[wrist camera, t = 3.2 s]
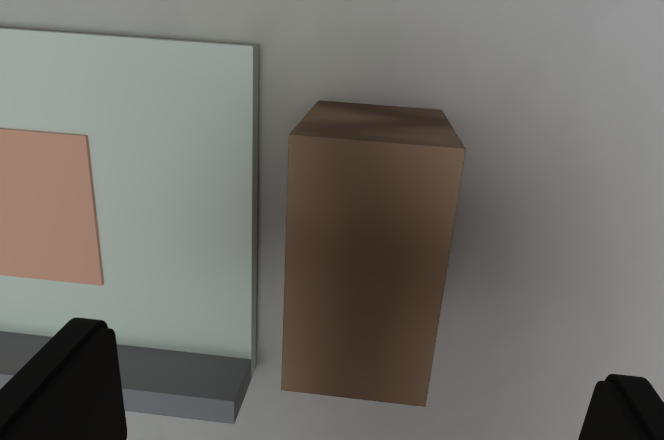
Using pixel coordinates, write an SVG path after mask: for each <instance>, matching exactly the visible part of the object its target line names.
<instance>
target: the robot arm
mask: <svg viewBox="0 0 664 440" xmlns="http://www.w3.org/2000/svg"><path fill="white" fill-rule="evenodd" d="M126 439H127V426H126V417H125V409H124V401H123V393H122V384H121V376H120V368H119V360H118V352H117V343H116V335H115V332H114V330H113V329H111V328H108V326H107V324H106V322H105V321H103V320H97V319H87V318H78V317H76V318H72V319H71V320H70V321H68V322H67V323H66V324H65V325H64V326H63V327H62V328H61V329H60V330H59V331H58V332H57V333H56V334H55V335H54V336H53V337H52V338H51V339H50V340H49V341H48V342H47V343H46V344H45V345H44V346H43V347H42V348H41V349H40V350H39V351H38V352H37V353H36V354H35V355H34V356H33V357H32V358H31V359H30V360H29V361H28V362H27V363H26V364H25V365H24V366H23V367H22V368H21V369H20V370H19V371H18V372H17V373H16V374H15V375H14V376H13V377H12V378H11V379H10V380H9V381H8V382H7V383H6V384H5V385H4V386H3V387H2V388H1V389H0V440H126ZM578 440H664V402H663V401H662V400H661V398H660V397H659V395H658V394H657V393H656V391H655V390H654V388H653V387H652V385H651V384H650V383H649V382H648V381H647V379H645V378H643V377H636V376H627V375H617V374H610V375H608V376H607V377H606V379H605V381H598V383H597V384H596V386H595V389H594V392H593V395H592V398H591V401H590V404H589V407H588V411H587V414H586V417H585V420H584V423H583V426H582V429H581V433H580V436H579V439H578Z"/></svg>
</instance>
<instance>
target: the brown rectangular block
mask: <svg viewBox="0 0 664 440" xmlns="http://www.w3.org/2000/svg"><path fill="white" fill-rule="evenodd" d="M465 150H466V149H465V147H464V145H463V144H462V142H461V141H460V139H459V137H458V136H457V134H456V133H455V131H454V129H453V128H452V126H451V124H450V123H449V121H448V120H447V118H446V116H445V115H444V113H443V112H442V110H436V109H423V108H409V107H396V106H383V105H370V104H356V103H343V102H330V101H318V102H317V103H316V104H315V105H314V107H313V108H312V109H311V110H310V111H309V112H308V113H307V115H306V116H305V117H304V118H303V119H302V120H301V121H300V123H299V124H298V125H297V126H296V127H295V128H294V129H293V131H292V132H291V133H290V134H289V150H288V183H287V216H286V250H285V283H284V316H283V349H282V383H281V390H285V391H294V392H303V393H311V394H320V395H329V396H337V397H346V398H354V399H363V400H372V401H380V402H389V403H398V404H406V405H415V406H423V407H425V406H426V400H427V394H428V387H429V381H430V374H431V368H432V361H433V355H434V349H435V342H436V336H437V329H438V323H439V317H440V310H441V304H442V297H443V291H444V285H445V278H446V272H447V265H448V259H449V253H450V246H451V240H452V233H453V227H454V220H455V214H456V208H457V201H458V195H459V188H460V182H461V176H462V169H463V163H464V156H465Z"/></svg>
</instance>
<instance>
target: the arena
mask: <svg viewBox="0 0 664 440" xmlns="http://www.w3.org/2000/svg"><path fill="white" fill-rule="evenodd" d="M258 104H259V45H250V44H235V43H221V42H207V41H192V40H178V39H164V38H149V37H135V36H121V35H106V34H92V33H78V32H63V31H49V30H35V29H20V28H6V27H0V389H1V388H2V387H3V386H4V385H5V384H6V383H7V382H8V381H9V380H10V379H11V378H12V377H13V376H14V375H15V374H16V373H17V372H18V371H19V370H20V369H21V368H22V367H23V366H24V365H25V364H26V363H27V362H28V361H29V360H30V359H31V358H32V357H33V356H34V355H35V354H36V353H37V352H38V351H39V350H40V349H41V348H42V347H43V346H44V345H45V344H46V343H47V342H48V341H49V340H50V339H51V338H52V337H53V336H54V335H55V334H56V333H57V332H58V331H59V330H60V329H61V328H62V327H63V326H64V325H65V324H66V323H67V322H68V321H70V320H71V319H72V318H76V317H78V318H87V319H97V320H103V321H105V322H106V324H107V326H108V328H111V329H113V330H114V332H115V335H116V343H117V352H118V360H119V368H120V376H121V384H122V393H123V401H124V409H125V411H132V412H140V413H149V414H157V415H165V416H173V417H181V418H190V419H198V420H206V421H214V422H222V423H231V424H234V423H235V421H236V418H237V416H238V413H239V410H240V408H241V405H242V402H243V400H244V397H245V394H246V392H247V389H248V387H249V384H250V381H251V379H252V376H253V373H254V371H255V368H256V305H257V204H258Z"/></svg>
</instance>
